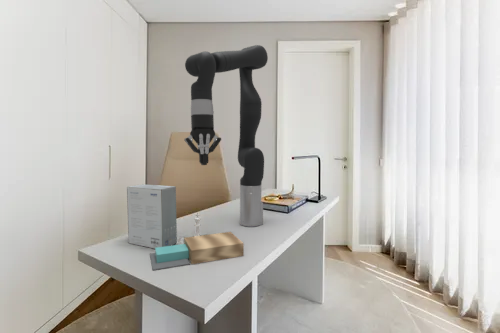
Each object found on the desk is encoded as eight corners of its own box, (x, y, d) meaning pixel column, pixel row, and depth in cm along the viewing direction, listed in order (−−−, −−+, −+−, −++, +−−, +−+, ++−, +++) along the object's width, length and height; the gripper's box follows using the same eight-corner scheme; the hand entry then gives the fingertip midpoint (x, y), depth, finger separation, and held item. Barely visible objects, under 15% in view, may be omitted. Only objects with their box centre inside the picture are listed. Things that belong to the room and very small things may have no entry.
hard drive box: (177, 243, 95) (177, 186, 93) (162, 250, 88) (161, 189, 86) (144, 236, 101) (143, 183, 100) (127, 243, 94) (125, 186, 93)
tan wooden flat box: (230, 243, 95) (230, 231, 95) (243, 255, 84) (243, 243, 84) (184, 249, 89) (184, 237, 89) (191, 264, 78) (191, 250, 78)
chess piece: (191, 238, 100) (191, 211, 99) (205, 238, 100) (205, 211, 100) (189, 243, 95) (189, 214, 94) (203, 242, 96) (203, 214, 95)
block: (185, 251, 87) (185, 243, 87) (188, 258, 81) (188, 250, 81) (155, 255, 83) (155, 247, 83) (157, 263, 78) (156, 254, 78)
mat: (182, 249, 89) (182, 248, 89) (189, 264, 78) (189, 263, 78) (149, 254, 85) (149, 253, 85) (152, 270, 74) (152, 269, 74)
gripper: (217, 115, 99) (218, 163, 101) (180, 114, 93) (182, 165, 95) (224, 113, 92) (225, 164, 94) (185, 112, 87) (187, 166, 88)
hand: (203, 164), depth 94 cm, fingers closed
